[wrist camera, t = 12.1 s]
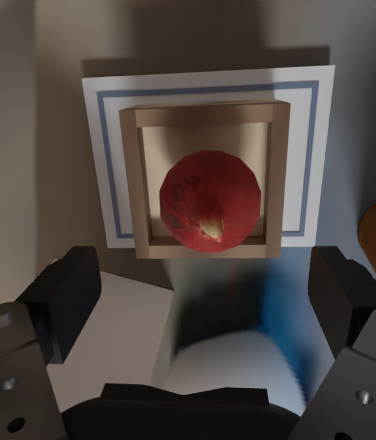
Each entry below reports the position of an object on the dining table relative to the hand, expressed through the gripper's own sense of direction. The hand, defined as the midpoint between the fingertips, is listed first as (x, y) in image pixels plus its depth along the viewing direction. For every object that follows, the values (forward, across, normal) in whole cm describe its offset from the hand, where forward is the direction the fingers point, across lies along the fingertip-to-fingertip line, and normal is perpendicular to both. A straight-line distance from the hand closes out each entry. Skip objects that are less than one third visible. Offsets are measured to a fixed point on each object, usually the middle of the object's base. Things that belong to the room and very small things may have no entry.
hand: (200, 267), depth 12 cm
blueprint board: (+16, 0, 0) cm, 16 cm away
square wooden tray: (+15, 0, 0) cm, 15 cm away
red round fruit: (+11, 0, 0) cm, 11 cm away
